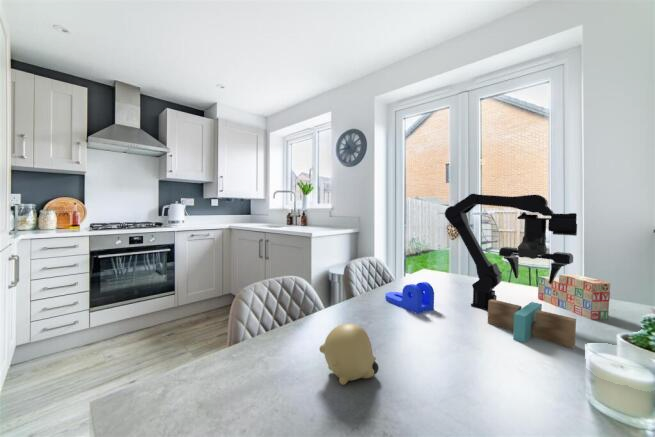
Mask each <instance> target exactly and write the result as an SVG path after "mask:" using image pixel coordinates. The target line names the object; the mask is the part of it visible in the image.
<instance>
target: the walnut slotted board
mask: <svg viewBox="0 0 655 437" xmlns="http://www.w3.org/2000/svg"><path fill="white" fill-rule="evenodd" d="M522 308H523V307H522V305H518V304H513V303H510V302H504V301H502V300H498V299H496V300H493V299H491V300H489V301H488V310H487V324H489V325H492V326H496V327H498V328H499V327H500V328H503V329H506V330H509V331H513V332H514V313H516V312H517V311H519V310H520V309H522ZM576 328H577V318H574V317H569V316H565V315H560V314H557V313H552V312H548V311H543V310H542V311H540V310H538V311H536V318H535V322H533V323H532V324H531V337H533V338H535V339H540V340H543V341H547V342H550V343H554V344H556V345H560V346H563V347H567V348H569V349H570V348H571V349H574V348H575V347H576V333H577V332H576V330H577V329H576Z"/></svg>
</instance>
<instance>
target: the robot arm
mask: <svg viewBox="0 0 655 437" xmlns="http://www.w3.org/2000/svg"><path fill="white" fill-rule="evenodd" d="M478 205H480V206H481V205H482V206H494V207H495V206H496V207H506V208H512V209H516V210H517V209H518V210H522V213H521V214H520V215H519V216H517V218H516V219H518V220H524V222H523V223H524V226H523V230H524V231H523V237H522V242H520V244H519V245H518V246H517V247H513V246H511V247H509V246H504V247H500V249H499V250H498V255H499V256H500V257H503V259H504V260H506V261H507V262H508V263H509V265H510V267H511V270H512V272H513V275H514V278H515V279H518V278H519V258H528V259H533V260H535V259H541V260H542V259H544V260H552V261H553V262H551V263H550V275H549V276H550V279H549V284H552V282H553V280H554V278H555V277H557V275H558V273H559V271H560V270H561V269H562V267H565V266H567V265H570V264H573V263H574V255H573V254H572V253H570V252H561V251H557V252H553V253H548V252H547V244H546V241H547V230H548V232H552V235H555V236H556V235H558V236H559V235H560V236H572V237H573V236H574V237H576V236H577V234H578V223H577V219H578V218H577V217H578V216H577V215H578V214H577V213H575V212H572V213H571V212H569V213H554V210H552V209H550V207H549V206H548V205H549V203H548V200H547V199H546V198H545V197H544V196H542V195H540V194H527V195H525V194H524V195H514V196H505V195H490V194H489V195H488V194H479V193H470V194H469V195H467V196H466V197H465V198H464V199H461V200H460V201H458V202H457V203H455V204H454V205H451V206H448V207H447V208H446V209H445V211H444V216H445V219H446V220H447V221H448V222H449V224H451V226H452V227H453V228H455V230H456V231H457V233H458V234H459V236H460V238H461V239H462V242H463V243H464V245H465V247H466V249H467V251H468V253H469V255H470V257H471V258H472V260H473V262H474V264H475V267H476V268H475V269H476V275H477V278H478V280H477V281H476V282H474V283H473V284H472V285H471V286H472V289H473V290H472V296H473V297H472V303H470V306H471V307H475V308H478V309H482V310H486V311H488V301H489V300H491V299H493V300H497V295H496V290H494V289H495V287H497V286H498V285H499V284H500V283H501V282H502V280H503V276H502V274H503V272H502V271H501V270H500V268H499V266H498V264H497V263H496V262H494V263H493V264H492V263H491V261H489V260H488V257H487V256H486V254H485V252H484V251H483V248H482V247H481V245H480V244H479V242H478V240H477V238H476V236H475V235H474V232H473V231H472V229H471V227H470V224H469V219H468V215H467V214H468V213H469V212H470V211H472V210H473V209H474V208H475V207H476V206H478ZM523 211H524V212H523ZM526 212H529V213H531V214H528V213H526ZM532 213H533V214H532ZM537 213H539V214H540V215H542V216H545V217H539V214H537ZM547 221H548V224H547ZM547 225H548V229H547Z"/></svg>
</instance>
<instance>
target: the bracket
mask: <svg viewBox="0 0 655 437" xmlns="http://www.w3.org/2000/svg"><path fill="white" fill-rule="evenodd" d="M385 299H386V300H385V301H386V302H388V303H390V304H393V305H395V306H398V307H400V308H403V309H405V310H408V311H409V312H412V313H415V314H421V313H426V312H429V311H434V309H435V291H434V288H433V286H432V284H430V283H428V282H427V281H421V282H418V283H416V284H415V283H410V284H406V285H404V286H403V288H402V291H401V292H399V291H389V292H386V293H385Z"/></svg>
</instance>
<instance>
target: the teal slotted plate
mask: <svg viewBox="0 0 655 437" xmlns="http://www.w3.org/2000/svg"><path fill="white" fill-rule="evenodd" d="M542 306H543V304H542V303H538V302H533V301H531V302H529V303H528V304H526V305H525V306H523V307H521V309H520V310H519V311H517V312H516V313H514V331H513V334H512V336H513V340H514V341H518V342H520V343H526V342H527V341H529V339H530V338H531V337H532V336H531V324H532V323H533V322H535V318H536V311H538V310H540V311H543V307H542Z"/></svg>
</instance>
